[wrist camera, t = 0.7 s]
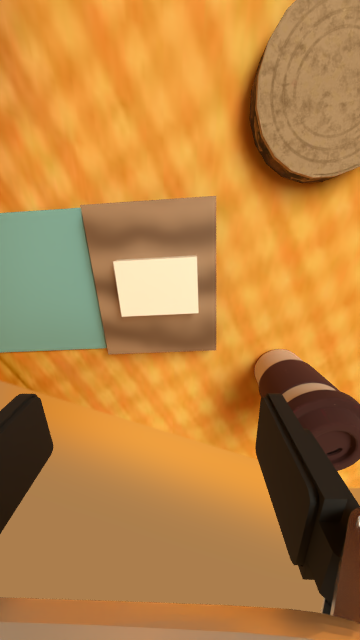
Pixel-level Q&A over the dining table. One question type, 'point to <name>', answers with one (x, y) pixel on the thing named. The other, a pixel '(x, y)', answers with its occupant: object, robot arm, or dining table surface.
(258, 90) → the wood slice coaster
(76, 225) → the mat
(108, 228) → the panel
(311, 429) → the coffee cup
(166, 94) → the dining table surface
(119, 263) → the cream foam board
